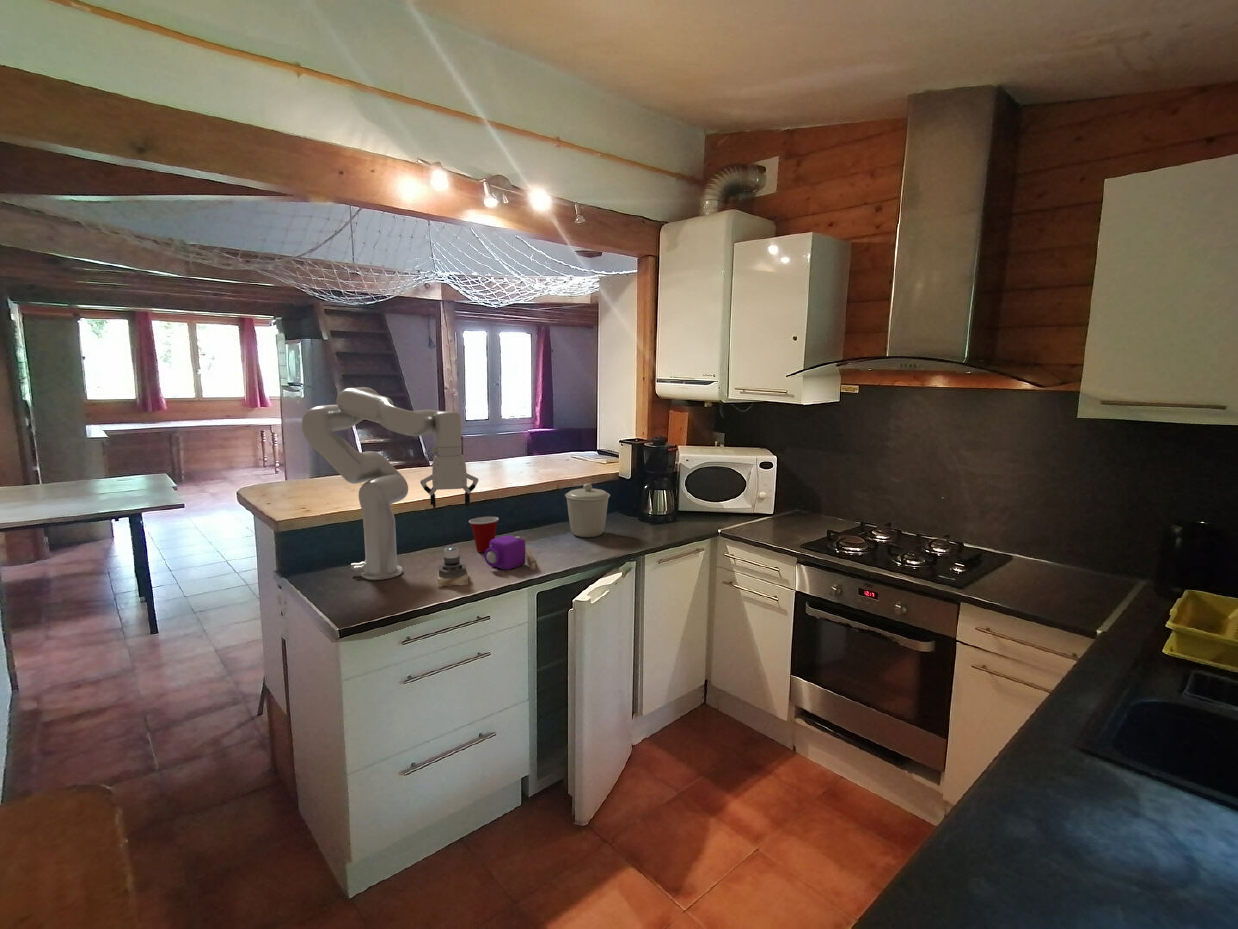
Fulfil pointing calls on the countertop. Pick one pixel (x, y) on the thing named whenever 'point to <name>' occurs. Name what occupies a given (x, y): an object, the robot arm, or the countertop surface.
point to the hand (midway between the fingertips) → (450, 506)
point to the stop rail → (530, 559)
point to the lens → (451, 558)
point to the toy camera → (506, 552)
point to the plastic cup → (483, 531)
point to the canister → (587, 511)
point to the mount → (452, 576)
